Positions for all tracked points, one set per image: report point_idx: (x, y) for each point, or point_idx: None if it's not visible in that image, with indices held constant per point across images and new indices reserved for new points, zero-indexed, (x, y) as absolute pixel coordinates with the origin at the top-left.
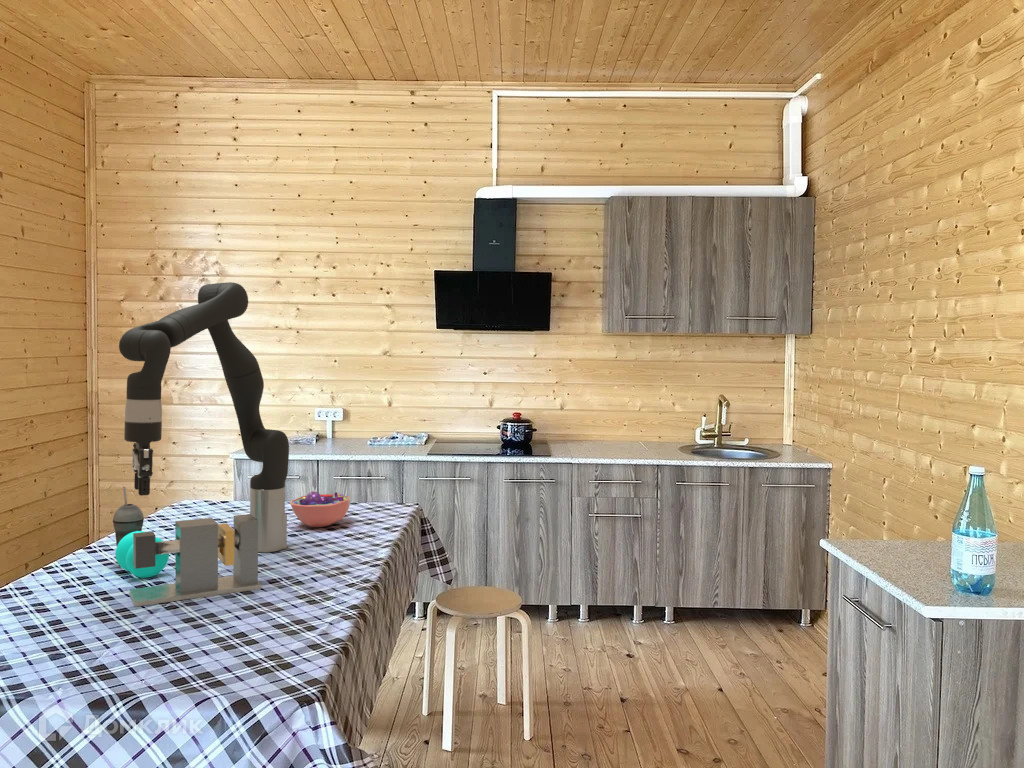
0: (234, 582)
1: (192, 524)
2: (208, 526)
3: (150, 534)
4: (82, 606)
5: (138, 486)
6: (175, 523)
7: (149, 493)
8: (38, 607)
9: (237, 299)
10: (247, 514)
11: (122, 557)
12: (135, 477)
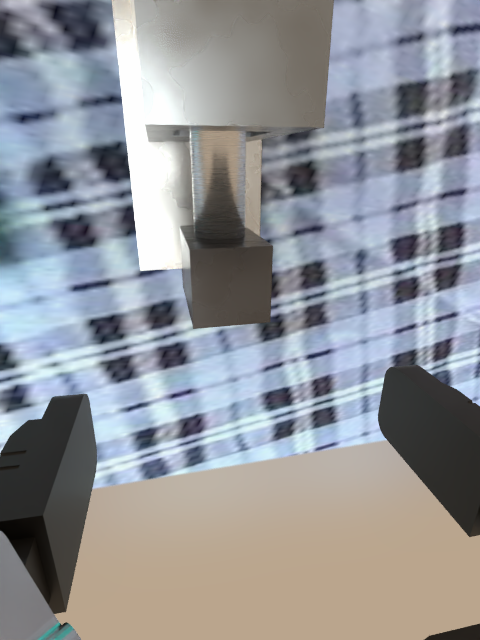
0: None
1: (279, 38)
2: None
3: (248, 264)
4: (199, 362)
5: (416, 473)
6: (147, 125)
7: (416, 365)
8: (168, 435)
9: None
10: None
11: None
12: (76, 555)
